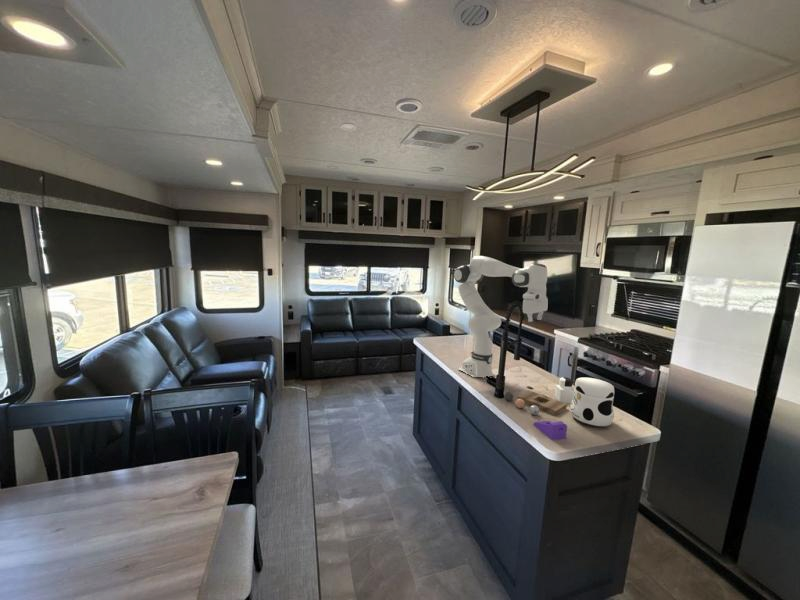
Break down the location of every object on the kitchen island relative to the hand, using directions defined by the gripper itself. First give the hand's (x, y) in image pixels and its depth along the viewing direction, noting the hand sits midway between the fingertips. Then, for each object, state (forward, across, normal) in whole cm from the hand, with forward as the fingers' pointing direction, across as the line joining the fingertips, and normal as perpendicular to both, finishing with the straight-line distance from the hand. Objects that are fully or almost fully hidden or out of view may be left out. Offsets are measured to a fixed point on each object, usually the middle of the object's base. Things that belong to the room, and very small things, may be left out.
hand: (534, 320), depth 168 cm
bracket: (+42, +27, +23) cm, 56 cm away
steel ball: (+40, +18, +12) cm, 45 cm away
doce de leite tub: (+42, +2, +31) cm, 52 cm away
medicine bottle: (+42, -10, +14) cm, 45 cm away
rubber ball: (+39, +14, -4) cm, 42 cm away
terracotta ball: (+39, +17, +4) cm, 43 cm away
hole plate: (+42, +5, +9) cm, 43 cm away
